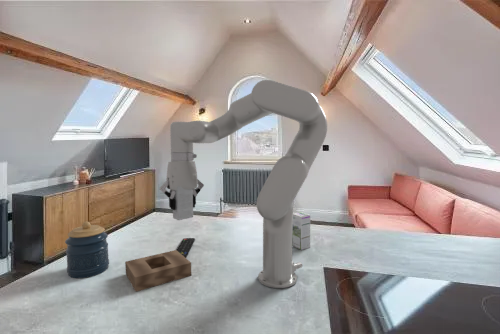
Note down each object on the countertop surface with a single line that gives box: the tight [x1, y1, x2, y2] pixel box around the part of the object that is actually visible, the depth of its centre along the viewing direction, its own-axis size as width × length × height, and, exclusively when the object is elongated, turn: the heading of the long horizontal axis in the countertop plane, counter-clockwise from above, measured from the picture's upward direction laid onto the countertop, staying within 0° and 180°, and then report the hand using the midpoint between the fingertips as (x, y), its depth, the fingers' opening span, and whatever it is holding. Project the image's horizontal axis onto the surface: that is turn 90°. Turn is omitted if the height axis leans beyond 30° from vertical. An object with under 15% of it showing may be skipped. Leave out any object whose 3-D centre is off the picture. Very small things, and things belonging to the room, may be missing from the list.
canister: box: [64, 221, 110, 279], centre depth 99 cm, size 13×13×18 cm
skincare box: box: [172, 186, 194, 221], centre depth 100 cm, size 6×4×12 cm
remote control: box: [176, 237, 196, 259], centre depth 119 cm, size 5×24×1 cm, turn 2°
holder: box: [124, 249, 192, 292], centre depth 96 cm, size 18×14×4 cm
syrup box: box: [292, 211, 311, 251], centre depth 121 cm, size 6×6×14 cm
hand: (182, 207), depth 100 cm, fingers closed on skincare box, 6 cm apart
